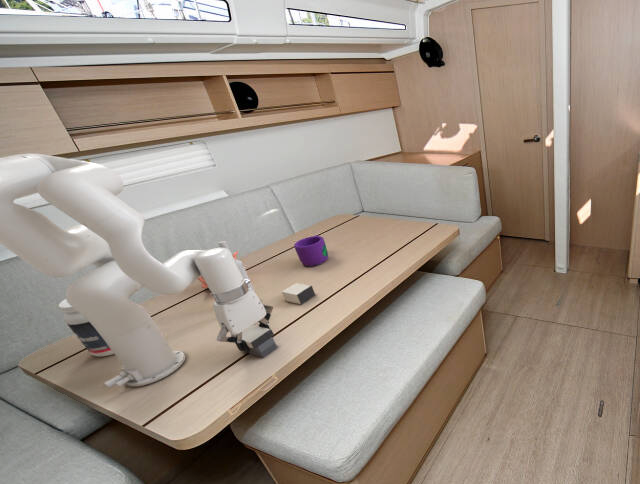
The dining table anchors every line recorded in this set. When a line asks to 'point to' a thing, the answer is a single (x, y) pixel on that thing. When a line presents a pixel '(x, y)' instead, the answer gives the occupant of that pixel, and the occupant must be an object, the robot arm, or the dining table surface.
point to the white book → (256, 335)
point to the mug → (311, 250)
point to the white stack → (298, 293)
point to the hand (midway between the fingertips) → (256, 342)
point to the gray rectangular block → (264, 348)
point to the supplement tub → (85, 331)
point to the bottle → (239, 264)
